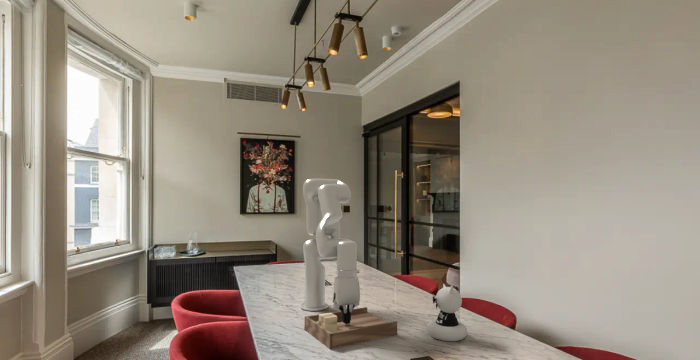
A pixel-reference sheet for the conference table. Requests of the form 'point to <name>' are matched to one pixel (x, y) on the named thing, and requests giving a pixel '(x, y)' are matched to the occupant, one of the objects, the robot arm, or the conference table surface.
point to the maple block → (328, 321)
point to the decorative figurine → (447, 316)
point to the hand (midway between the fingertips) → (346, 322)
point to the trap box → (351, 329)
